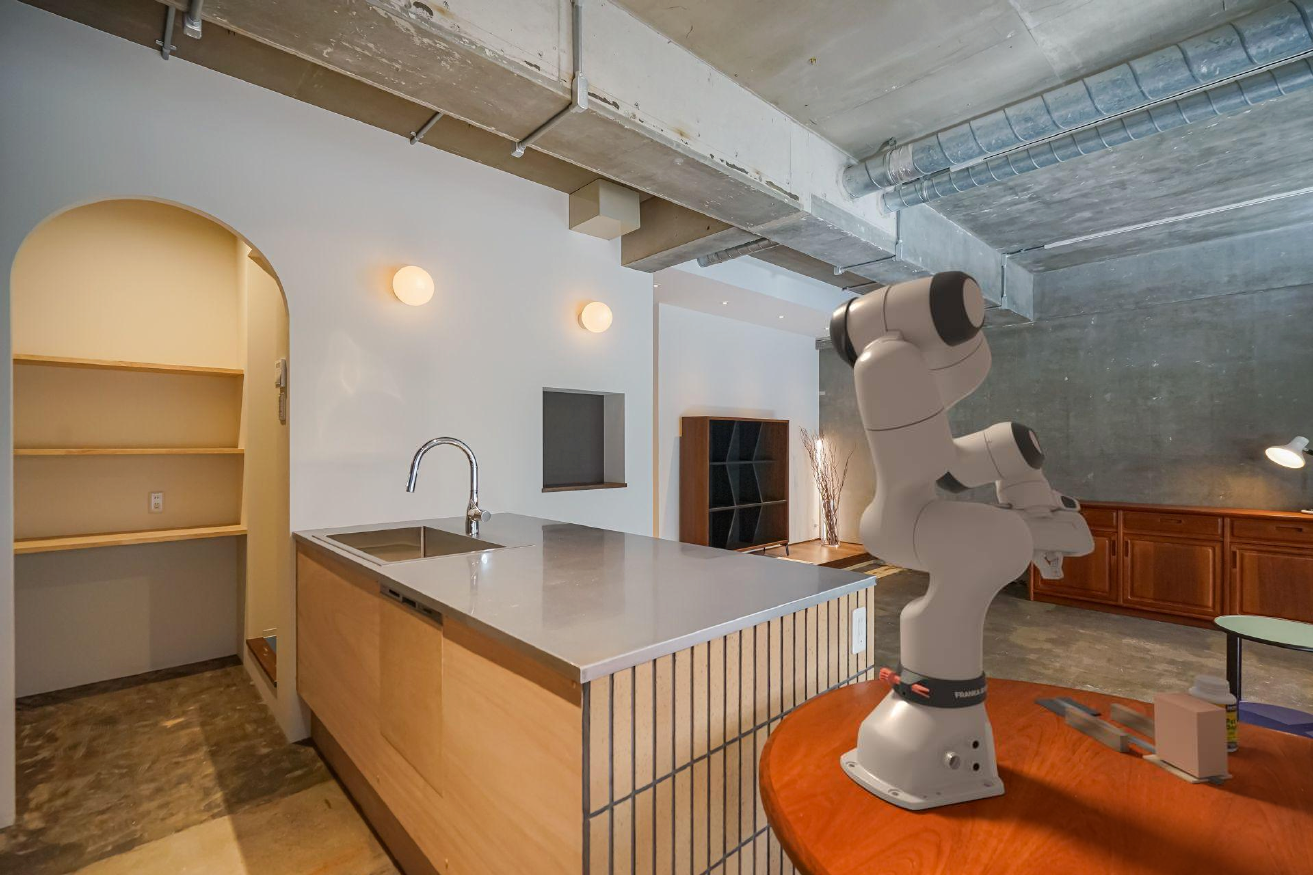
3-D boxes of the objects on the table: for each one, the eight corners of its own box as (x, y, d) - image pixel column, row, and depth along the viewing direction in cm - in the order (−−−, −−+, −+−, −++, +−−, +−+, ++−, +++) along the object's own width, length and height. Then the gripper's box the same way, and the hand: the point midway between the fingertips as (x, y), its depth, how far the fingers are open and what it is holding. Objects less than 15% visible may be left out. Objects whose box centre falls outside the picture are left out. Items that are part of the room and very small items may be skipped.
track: (1028, 703, 110) (1027, 689, 110) (1077, 698, 112) (1077, 685, 112) (1189, 788, 82) (1188, 770, 82) (1251, 780, 84) (1250, 762, 84)
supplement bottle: (1231, 757, 90) (1230, 688, 91) (1184, 742, 95) (1182, 677, 95) (1243, 747, 93) (1241, 680, 94) (1196, 733, 98) (1194, 669, 98)
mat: (1142, 757, 91) (1142, 755, 91) (1181, 752, 92) (1181, 751, 92) (1191, 783, 84) (1191, 780, 84) (1232, 777, 85) (1232, 775, 85)
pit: (1034, 701, 111) (1034, 699, 111) (1066, 698, 112) (1066, 696, 112) (1066, 718, 104) (1066, 716, 104) (1101, 714, 105) (1101, 712, 105)
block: (1155, 756, 90) (1154, 695, 90) (1183, 752, 91) (1181, 692, 91) (1198, 777, 84) (1196, 712, 84) (1227, 773, 85) (1226, 709, 85)
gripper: (992, 495, 108) (1017, 571, 102) (1085, 501, 113) (1115, 574, 106) (969, 508, 114) (991, 581, 107) (1058, 513, 118) (1085, 584, 112)
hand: (1053, 578), depth 107 cm, fingers closed
